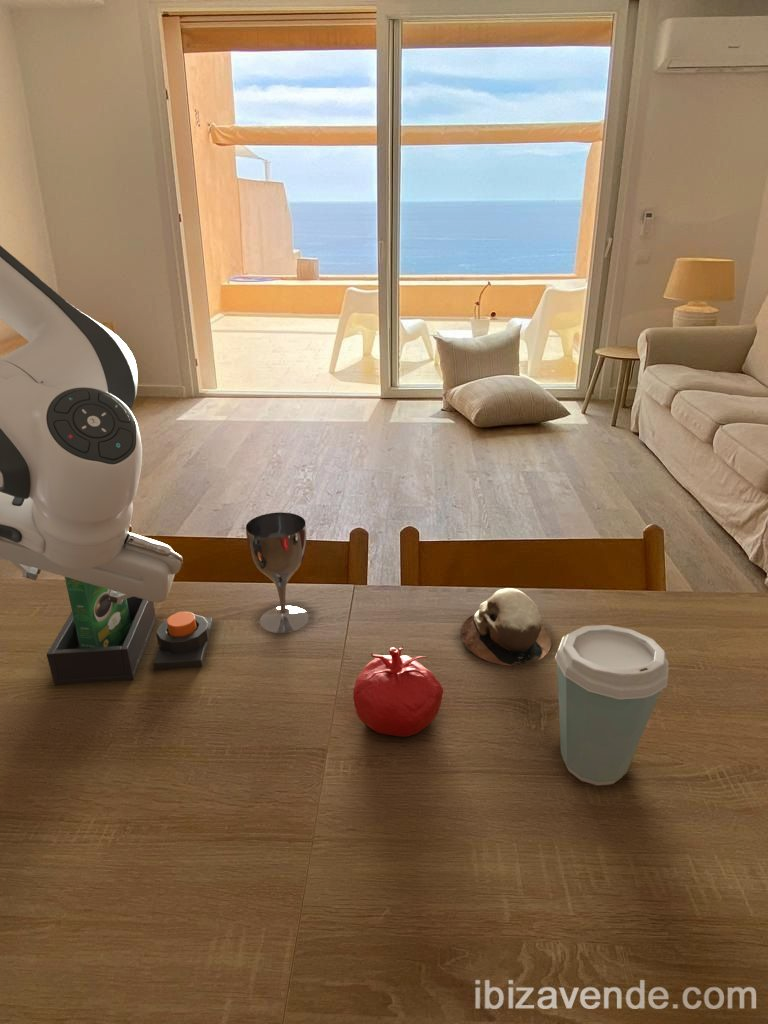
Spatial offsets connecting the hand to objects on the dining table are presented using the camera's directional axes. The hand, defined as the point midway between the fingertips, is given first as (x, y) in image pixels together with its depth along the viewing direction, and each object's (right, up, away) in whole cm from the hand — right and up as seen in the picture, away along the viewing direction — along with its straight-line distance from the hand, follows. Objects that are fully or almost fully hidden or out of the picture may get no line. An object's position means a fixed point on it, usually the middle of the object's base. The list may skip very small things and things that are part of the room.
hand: (75, 585), depth 79 cm
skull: (+52, -9, +15) cm, 54 cm away
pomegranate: (+37, -16, +1) cm, 40 cm away
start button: (+8, -7, +13) cm, 17 cm away
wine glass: (+21, -7, +20) cm, 30 cm away
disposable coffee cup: (+58, -18, -6) cm, 61 cm away
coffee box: (-1, -10, +13) cm, 17 cm away
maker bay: (-1, -10, +14) cm, 17 cm away
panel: (+8, -10, +14) cm, 19 cm away
